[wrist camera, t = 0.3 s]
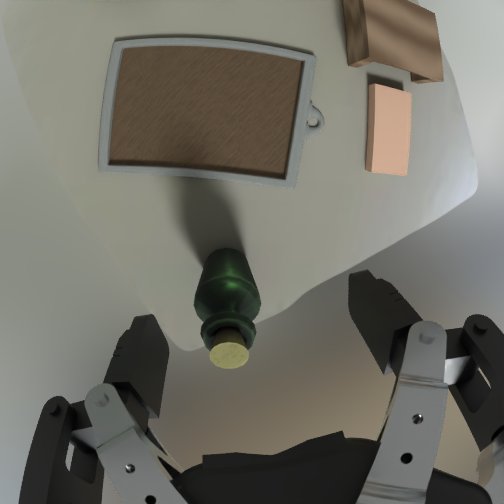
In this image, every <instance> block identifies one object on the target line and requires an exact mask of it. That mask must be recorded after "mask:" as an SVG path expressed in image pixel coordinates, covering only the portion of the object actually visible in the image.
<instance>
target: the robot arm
mask: <svg viewBox="0 0 504 504" xmlns="http://www.w3.org/2000/svg"><path fill="white" fill-rule="evenodd" d="M348 296H349V298H348V306H349V312H350V315H351V318H352V320H353V321H354V323H355V324H356V327H357V328H358V330H359V332H360V333H361V335H362V337H363V338H364V340H365V342H366V344H367V346H368V347H369V349H370V351H371V353H372V355H373V356H374V358H375V360H376V362H377V364H378V365H379V367H380V369H381V371H382V373H383V374H384V375H386V374H389V373H392V372H394V374H395V376H396V379H395V382H394V386H393V390H392V393H391V397H390V401H389V404H388V407H387V410H386V413H385V417H384V420H383V422H382V425H381V428H380V430H379V433H378V435H377V438H376V440H375V441H374V440H370V439H364V438H345V437H344V434H343V431H339V432H336V433H332V434H329V435H325V436H321V437H317V438H314V439H310V440H307V441H305V442H303V443H300V444H298V445H296V446H294V447H292V448H289V449H287V450H285V451H282V452H280V453H278V454H275V455H259V454H246V453H237V452H235V453H226V454H211V455H203V463H201V464H198V465H196V466H193V467H191V468H189V469H187V470H185V471H184V470H183V469H182V468H181V467H180V466H179V465H178V464H177V463H176V462H175V461H174V460H173V458H172V457H171V456H170V455H169V453H168V452H167V451H166V449H165V448H164V447H163V445H162V444H161V443H160V441H159V440H158V438H157V437H156V436H155V434H154V433H153V431H152V430H151V428H150V427H149V426H148V419H149V418H159V414H160V408H161V401H162V394H163V388H164V381H165V376H166V370H167V364H168V359H169V346H168V343H167V340H166V338H165V336H164V334H163V332H162V330H161V328H160V326H159V324H158V322H157V320H156V318H155V316H154V315H153V314H149V315H143V316H136V317H135V318H134V320H133V322H132V325H131V327H130V329H129V330H126V331H125V332H124V334H123V335H122V336H121V337H120V338H119V341H118V343H117V346H116V350H115V351H114V354H113V357H112V359H111V362H110V364H109V367H108V370H107V373H106V376H105V378H104V381H103V384H99V385H97V386H95V387H93V388H92V389H91V390H90V391H89V392H88V393H87V395H86V397H85V400H83V401H80V402H76V403H72V404H70V403H69V402H68V401H67V400H66V399H65V398H64V397H62V396H56V397H53V398H51V399H50V400H48V401H47V402H46V404H45V405H44V407H43V409H42V412H41V415H40V418H39V421H38V424H37V428H36V431H35V434H34V437H33V440H32V444H31V447H30V451H29V455H28V459H27V463H26V467H25V471H24V476H23V481H22V486H21V491H20V497H19V504H101V501H102V489H103V479H104V470H105V471H106V473H107V475H108V477H109V479H110V481H111V482H112V484H113V486H114V488H115V490H116V492H117V494H118V495H119V497H120V499H121V500H122V502H123V503H124V504H504V334H503V333H502V332H501V330H500V329H499V328H498V327H497V326H496V325H495V323H494V322H493V321H492V320H491V319H489V318H488V317H486V316H484V315H479V314H475V315H471V316H469V317H468V318H467V319H466V321H465V323H464V326H463V328H455V329H448V330H444V328H443V327H442V326H441V325H439V324H438V323H436V322H433V321H423V319H422V318H421V317H420V316H419V315H418V313H417V312H416V311H415V310H414V309H413V308H412V307H411V305H410V304H409V303H408V302H407V301H406V300H405V299H404V298H403V296H402V295H401V294H400V293H398V290H396V288H395V287H394V286H393V285H392V284H391V283H389V282H387V281H385V280H383V279H376V278H375V277H374V276H373V275H372V274H371V273H370V271H369V270H363V271H359V272H356V273H351V274H350V275H349V295H348ZM479 367H480V369H481V370H482V372H483V373H484V375H485V376H486V378H487V379H488V381H489V383H490V386H491V389H490V387H489V386H488V384H487V382H486V381H485V379H484V378H483V376H482V374H481V373H480V371H479V370H478V368H479ZM448 389H449V390H450V392H451V394H452V396H453V397H454V399H455V401H456V403H457V405H458V407H459V409H460V411H461V412H462V414H463V416H464V418H465V420H466V422H467V424H468V426H469V428H470V430H471V433H472V435H473V437H474V438H475V441H476V443H477V445H478V447H479V450H480V452H481V453H480V455H479V457H478V461H477V468H476V473H477V475H479V477H478V482H477V484H476V483H473V482H470V481H467V480H464V479H462V478H459V477H456V476H453V475H451V474H448V473H446V472H443V471H441V470H438V469H436V468H434V467H433V466H434V463H435V459H436V455H437V451H438V446H439V442H440V437H441V433H442V428H443V421H444V416H445V410H446V403H447V395H448ZM69 442H70V443H71V444H72V445H74V446H75V447H74V452H73V457H72V462H71V467H70V471H68V469H67V467H66V463H65V460H66V455H67V450H68V446H69Z"/></svg>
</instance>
